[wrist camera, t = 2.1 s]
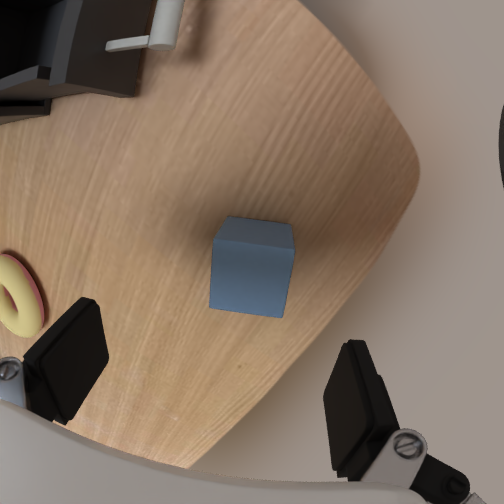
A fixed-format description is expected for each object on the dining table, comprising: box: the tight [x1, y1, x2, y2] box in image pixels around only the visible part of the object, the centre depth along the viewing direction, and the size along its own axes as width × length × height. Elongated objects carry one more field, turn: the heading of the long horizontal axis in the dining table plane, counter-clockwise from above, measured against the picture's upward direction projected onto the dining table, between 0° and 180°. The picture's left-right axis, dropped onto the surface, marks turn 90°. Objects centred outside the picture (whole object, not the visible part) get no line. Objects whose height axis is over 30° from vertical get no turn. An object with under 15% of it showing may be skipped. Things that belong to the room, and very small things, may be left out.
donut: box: [0, 254, 44, 338], centre depth 24 cm, size 10×5×9 cm
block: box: [209, 216, 295, 318], centre depth 19 cm, size 4×4×5 cm
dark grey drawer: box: [0, 0, 185, 106], centre depth 11 cm, size 18×11×8 cm, turn 84°
